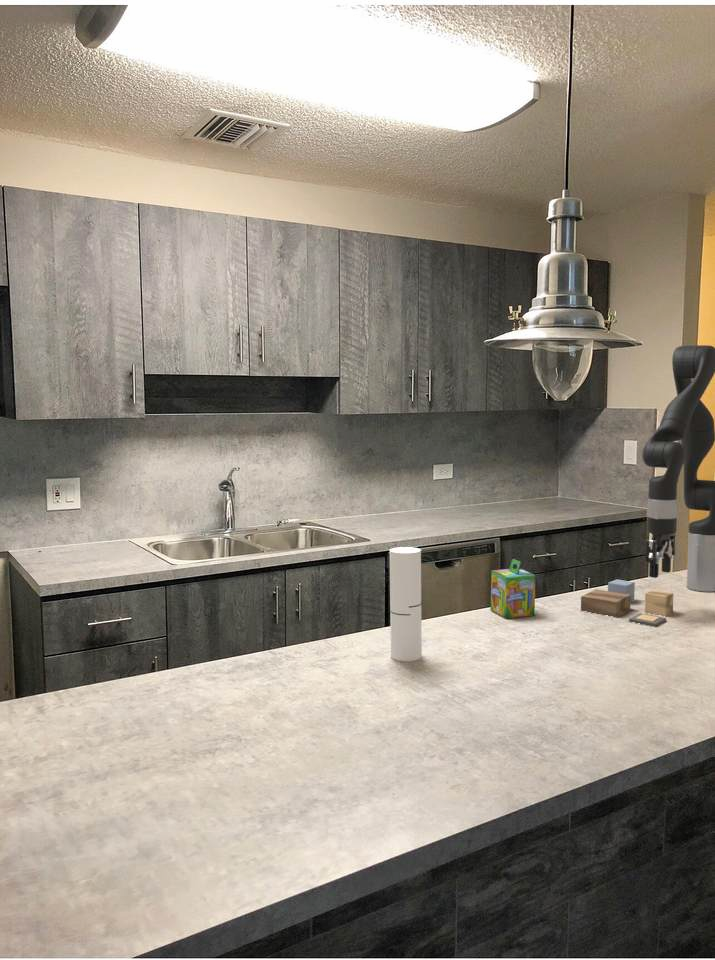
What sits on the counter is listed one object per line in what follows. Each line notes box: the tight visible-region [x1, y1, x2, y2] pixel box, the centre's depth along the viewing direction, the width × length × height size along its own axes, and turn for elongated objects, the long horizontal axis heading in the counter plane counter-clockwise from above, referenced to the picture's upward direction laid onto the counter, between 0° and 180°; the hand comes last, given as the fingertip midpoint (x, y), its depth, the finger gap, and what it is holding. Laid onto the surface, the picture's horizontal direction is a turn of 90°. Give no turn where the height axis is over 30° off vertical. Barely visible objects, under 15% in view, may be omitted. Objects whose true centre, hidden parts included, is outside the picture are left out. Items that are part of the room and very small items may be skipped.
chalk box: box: [490, 558, 537, 620], centre depth 210 cm, size 9×9×15 cm
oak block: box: [644, 589, 674, 617], centre depth 209 cm, size 6×6×6 cm
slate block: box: [607, 579, 636, 602], centre depth 221 cm, size 6×6×6 cm
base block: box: [580, 589, 632, 618], centre depth 212 cm, size 10×10×4 cm
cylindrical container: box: [389, 546, 423, 662], centre depth 176 cm, size 7×7×25 cm
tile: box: [628, 612, 667, 628], centre depth 201 cm, size 7×7×1 cm
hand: (659, 574), depth 207 cm, fingers open, 8 cm apart
